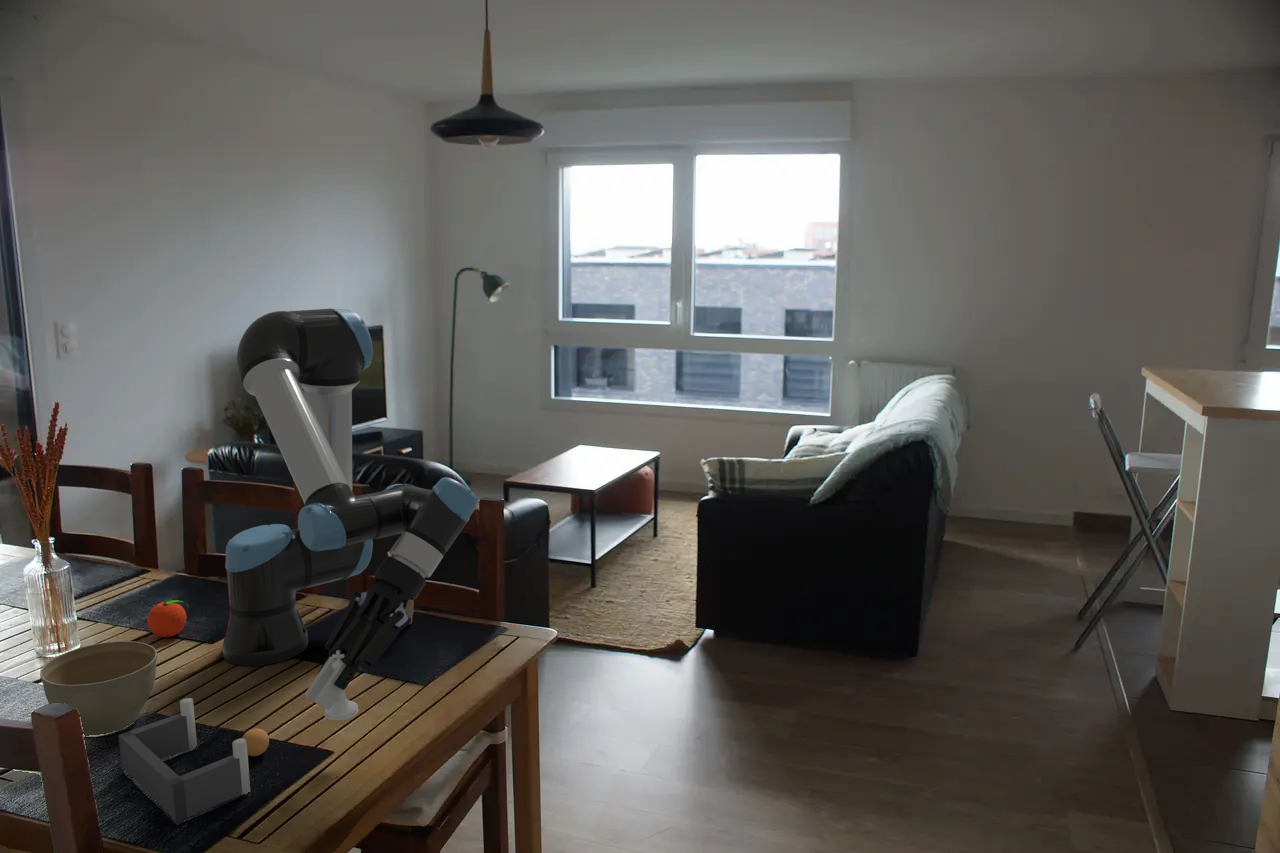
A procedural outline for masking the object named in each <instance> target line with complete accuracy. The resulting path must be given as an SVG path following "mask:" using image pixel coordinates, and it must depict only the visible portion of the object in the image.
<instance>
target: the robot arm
mask: <svg viewBox="0 0 1280 853" xmlns="http://www.w3.org/2000/svg"><path fill="white" fill-rule="evenodd" d="M373 353H374V348H373V342H372V336H371V334H370V332H369V329H368V326H367V325H366V323H365V320H364V319H363V318H362V317H361V315H359V314H358V313H357V312H355V311H354V310H351V309H346V308H345V309H343V308H341V309H340V308H331V307H330V308H320V309H319V308H317V309H304V310H289V311H288V310H287V311H286V310H279V311H278V310H277V311H276V310H275V311H272V312H269V313H266V314H263V315H261V316H260V317H258V318H257V319H255V320H254V321H253V322H252V323H250V325H249V326H248V327H247V329H246V330H245V331H244V333H243V335H242V337H241V339H240V340H239V343H238V348H237V353H236V368H237V373H238V377H239V379H240V381H241V383H242V385H243V386H242V387H244V391H246V392H247V393H248V394H249V395H252V396H254V397H255V399H256V401H257V403H258V406H259V407H260V410H261V412H262V414H263V417H264V418H265V421H266V424H268V428H269V430H270V432H271V434H272V437H273V438H274V440H275V442H276V445H277V447H278V449H279V451H280V453H281V456H282V458H283V460H284V462H285V464H286V466H287V468H288V471H289V473H290V475H291V477H292V479H293V482H294V483H295V485H296V488H297V490H298V492H299V495H300V497H301V499H302V502H303V504H304V506H303V507H302V508H301V509H300V511H298V516H297V528H294V529H291V528H290V527H289V526H288V525H286V524H281V523H271V524H269V525H268V524H262V525H258V526H254V527H251V528H248V529H245V530H243V531H240V532H239V533H236V534H235V535H234V536H233V537H231V538H230V539H229V540H228V542H227V544H226V546H225V562H224V567H225V568H224V569H226V577H227V578H226V579H227V589H228V601H229V602H228V603H229V618H228V619H229V621H228V623H227V629H226V634H225V637H224V638H223V642H222V653H223V658H224V660H225V661H226V662H228V663H231V664H233V665H237V666H249V667H250V666H251V667H255V666H265V665H271V664H277V663H280V662H284V661H287V660H290V659H291V658H294V657H296V656H298V655H299V654H301V653H303V652H304V651H305V650H306V649H307V647H308V646H309V635H308V630H307V628H306V626H305V624H304V622H303V620H302V616H301V615H300V612H299V610H298V608H297V601H296V592H297V591H300V590H304V589H308V588H311V587H312V588H313V587H316V586H320V585H325V584H328V583H333V582H336V581H344V580H347V579H349V578H350V577H354V576H357V575H360V574H362V572H364V570H366V569H367V567H369V566H368V565H369V564H370V561H371V559H372V555H373V545H374V544H373V543H374V542H373V540H378V539H383V538H387V537H391V536H396V535H400V534H401V535H400V536H399V537H398V539H397V540H396V541H395V543H394V544H393V546H392V547H391V548H390V549H389V551H390V555H391V557H388V556H387V557H385V558H384V559H383V560H382V561H381V564H379V567H378V568H377V569H376V570H375V572H374V578H375V579H376V580H375V583H373V584H372V585H371V586H370V587H369V588H368V589H367V591H366V592H365V591H364V592H360V591H358V590H354V591H353V592H352V595H351V598H350V600H349V604H348V605H347V607H346V609H345V610H344V612H343V614H342V616H341V617H340V618H339V621H338V622H337V624H336V625H335V627H334V629H333V630H332V632H331V634H330V636H329V638H328V639H327V641H326V643H325V644H324V648H325V649H327V650H328V657H327V658H326V659H325V661H324V663H323V664H322V666H321V667H320V669H319V670H318V671H317V675H316V677H315V678H314V680H313V681H312V682H311V683H310V685H309V687H308V688H307V689H306V691H305V693H304V694H303V696H304V697H306V698H308V699H309V700H310V701H313V702H314V703H315V704H317V705H319V706H321V707H322V708H324V710H325V709H327V710H330V708H331V707H332V705H333V704H334V702H335V701H336V699H337V698H338V696H339V695H340V693H341V692H342V690H344V689H345V690H346V688H347V687H348V685H350V683H351V681H352V680H353V678H354V676H356V674H357V673H358V672H359V673H360V671H365V672H366V673H368V672H370V671H371V670H372V668H373V667H374V666H375V664H376V663H377V662H378V661H379V659H380V658H381V656H383V654H384V653H385V652H386V650H387V649H388V648H389V647H390V645H391V644H392V642H393V641H394V640H395V638H396V637H397V636H398V635H399V634H400V632H401V631H403V630H404V629H405V628H406V627H407V626H408V624H409V625H411V624H410V622H411V618H410V617H408V616H407V615H406V613H405V609H406V607H407V603H408V601H409V600H416V599H417V598H418V596H419V595H420V594H421V591H422V590H423V589H424V588H425V586H426V584H427V580H426V579H425V578H427V579H428V578H431V576H432V575H433V573H434V572H435V570H436V569H437V567H438V566H439V564H440V563H441V561H442V559H443V558H444V556H445V555H446V553H447V552H448V551H449V549H450V548H451V547H452V545H453V544H454V542H455V541H456V539H457V538H458V536H459V535H460V533H461V532H462V530H463V529H464V528H465V526H466V524H467V523H468V522H469V521H470V517H471V516H472V514H473V513H474V511H475V510H476V508H477V507H478V506H477V505H478V498H477V495H475V493H474V492H473V491H472V490H470V488H469V487H467V486H466V485H464V484H463V483H461V482H460V481H458V480H455V479H453V478H451V477H446V476H445V477H442V478H440V479H439V481H437V483H436V484H435V485H433V486H432V489H427V488H422V487H419V486H415V485H413V484H409V483H403V484H402V483H396V484H395V483H394V484H391V485H389V486H387V487H386V488H384V489H383V490H382V491H377V492H372V493H366V494H361V495H355V494H354V493H353V398H352V397H353V396H352V394H353V389H355V387H356V386H358V384H360V382H361V371H364V370H365V369H368V368H369V366H371V362H372V360H373V357H374V354H373ZM337 650H340V654H344V658H340V660H342V662H343V663H344V664H343V663H341V662H340V663H339V665H338V666H337V668H336V669H335V671H334V669H333V667H332V663H333V662H334V661H337V658H332V655H333V654H336V651H337ZM345 664H346V665H345Z"/></svg>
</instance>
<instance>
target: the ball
mask: <svg viewBox="0 0 1280 853" xmlns="http://www.w3.org/2000/svg"><path fill="white" fill-rule="evenodd" d="M241 739H246V743H247V755H248V757H258V756H260V755H262V754H264V752H266V750H267V749H268V748H269V745H270V744H269V743H270V737H269V735H268V733H267V732H266V731H265V730H264V729H262V728H256V727H255V728H251V729H249V730H247V731H246V732H245V733H244V734H243V736H242V737H241Z"/></svg>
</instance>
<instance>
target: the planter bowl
mask: <svg viewBox="0 0 1280 853" xmlns="http://www.w3.org/2000/svg"><path fill="white" fill-rule="evenodd" d="M157 661H158V653H157V650H156V648H155V647H154V646H152V645H151V644H148V643H145V642H140V641H139V642H138V641H133V640H115V641H105V642H101V643H94V644H90V645H89V644H88V645H85V646H81V647H77V648H75V649H72V650H69V651H67V652H64V653H61V654H59V655H58V656H56V657H54V658H52V659H50V660H49V661H48V662H46V663H45V664H44V665H43V666H42V668H41V669H40V672H39V676H40V680H41V683H42V685H43V691H44V695H45V698H46V700H47V702H48V705H50V704H52V703H65V704H68V705H70V706H73V707H76V708H77V709H78V711H79V713H80V717H81V722H82V727H83V730H84V735H85V737H84V738H86V736H89V735H100V734H106V733H110V732H113V731H117V730H120V729H123V728H125V727H127V726H129V725H130V724H132V723H133V722H135V721H136V720H137V719H138V720H139V718H140V712H141V710H142V709H143V708H144V706H145V705H146V703H147V701H148V699H149V697H150V696H151V694H152V691H153V688H154V685H155V680H156V676H157V675H156V674H157ZM138 717H139V718H138ZM138 720H137V721H138ZM137 721H136V722H137Z"/></svg>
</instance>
